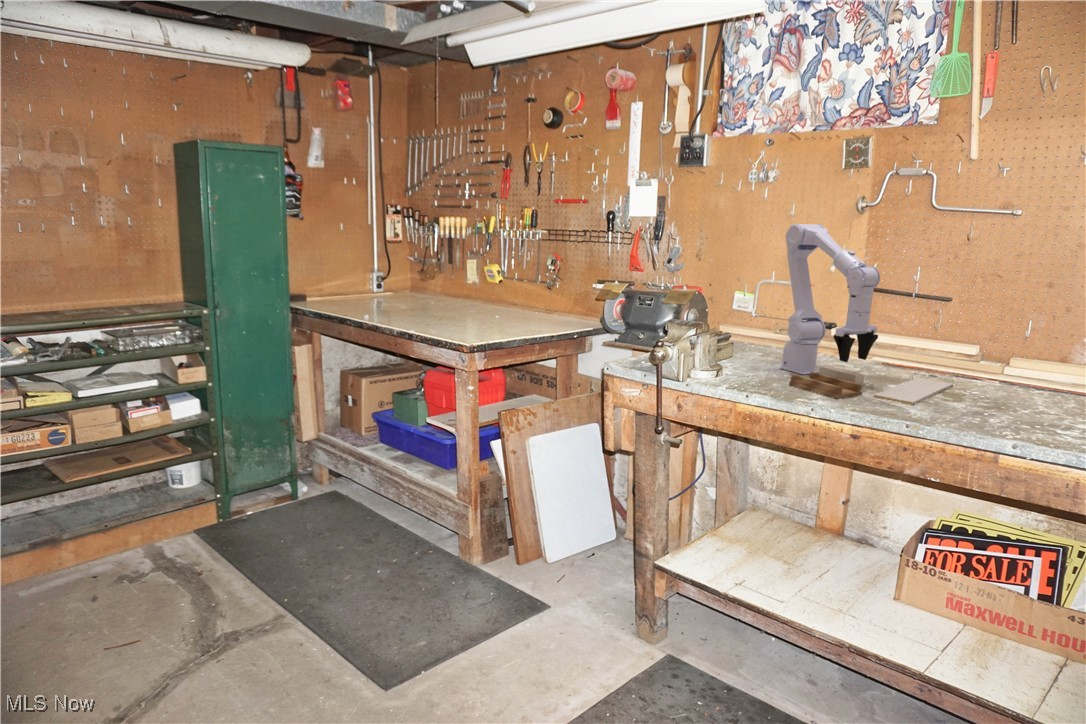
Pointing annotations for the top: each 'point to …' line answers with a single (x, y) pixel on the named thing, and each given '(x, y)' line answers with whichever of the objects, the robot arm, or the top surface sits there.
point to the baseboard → (913, 390)
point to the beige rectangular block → (842, 374)
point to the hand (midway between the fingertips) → (852, 360)
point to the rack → (826, 385)
